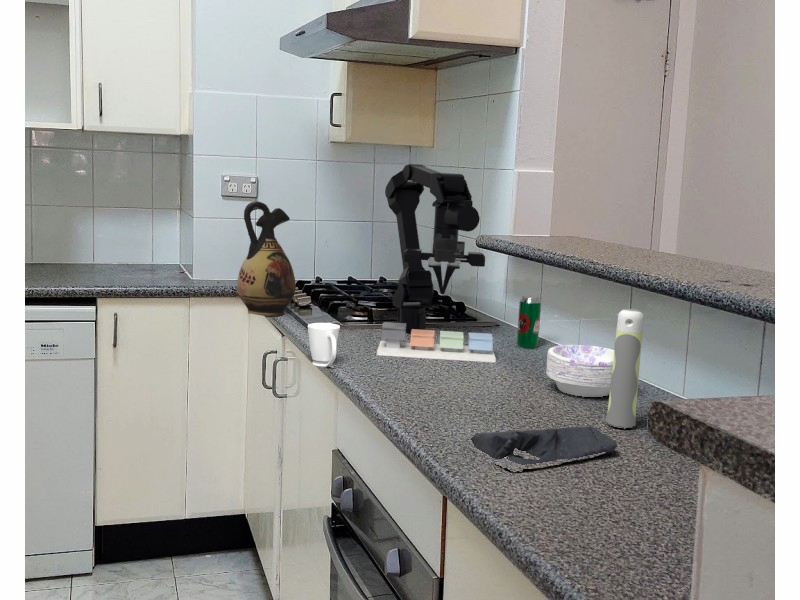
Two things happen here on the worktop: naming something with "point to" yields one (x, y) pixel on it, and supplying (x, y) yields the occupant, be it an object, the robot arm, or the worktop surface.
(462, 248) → the robot arm
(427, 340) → the key terracotta
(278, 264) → the ceramic jug
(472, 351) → the keypad
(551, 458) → the crumpled dark cloth
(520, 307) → the soda can
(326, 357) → the cup
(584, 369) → the paper bowls
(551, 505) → the worktop surface
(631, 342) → the spray bottle
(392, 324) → the key charcoal
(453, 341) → the key sage
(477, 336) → the key blue
